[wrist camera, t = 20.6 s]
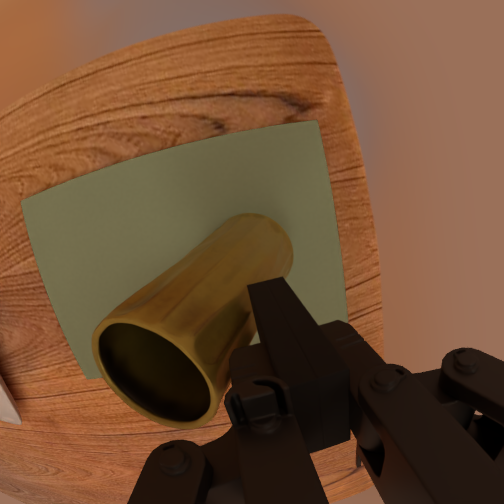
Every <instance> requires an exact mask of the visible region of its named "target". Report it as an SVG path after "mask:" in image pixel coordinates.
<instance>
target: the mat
mask: <svg viewBox="0 0 504 504" xmlns="http://www.w3.org/2000/svg"><path fill="white" fill-rule="evenodd" d="M21 206H22V210H23V215H24V219H25V223H26V227H27V231H28V235H29V238H30V242H31V246H32V249H33V252H34V256H35V259H36V262H37V265H38V268H39V271H40V274H41V277H42V280H43V283H44V286H45V289H46V291H47V294H48V297H49V299H50V302H51V304H52V307H53V309H54V312H55V314H56V317H57V319H58V321H59V324H60V326H61V328H62V330H63V333H64V335H65V337H66V339H67V341H68V343H69V346H70V348H71V350H72V352H73V354H74V356H75V358H76V360H77V362H78V364H79V366H80V367H81V369H82V371H83V373H84V375H85V377H86V379H96V378H103V377H102V375H101V373H100V371H99V369H98V367H97V365H96V362H95V360H94V356H93V352H92V334H93V332H94V330H95V329H96V327H97V326H98V325H99V324H100V322H101V321H102V320H103V319H104V318H105V317H106V316H107V315H108V314H109V313H110V312H111V311H112V310H114V309H115V308H116V307H117V306H118V305H120V304H121V303H122V302H123V301H125V300H126V299H127V298H129V297H130V296H131V295H133V294H134V293H135V292H137V291H138V290H140V289H141V288H142V287H144V286H145V285H147V284H148V283H150V282H151V281H152V280H154V279H155V278H156V277H158V276H159V275H161V274H162V273H163V272H165V271H166V270H167V269H169V268H170V267H172V266H173V265H175V264H176V263H177V262H179V261H180V260H181V259H182V258H183V257H184V256H185V255H187V254H188V253H189V252H190V251H191V250H192V249H194V248H195V247H196V246H197V245H199V244H200V243H201V242H202V241H203V240H205V239H206V238H207V237H208V236H209V235H210V234H212V233H213V232H214V231H216V230H217V229H218V228H220V227H221V225H222V224H223V223H224V222H225V221H226V220H228V219H229V218H231V217H233V216H235V215H238V214H242V213H256V214H261V215H265V216H267V217H269V218H271V219H273V220H274V221H276V222H277V223H278V224H279V225H280V226H281V227H282V228H283V229H284V230H285V231H286V233H287V234H288V236H289V238H290V241H291V243H292V247H293V253H294V258H293V265H292V268H291V271H290V273H289V275H288V276H287V278H286V279H285V280H286V282H287V283H288V284H289V286H290V287H291V289H292V290H293V291H294V293H295V294H296V295H297V297H298V298H299V299H300V301H301V302H302V303H303V305H304V306H305V308H306V309H307V310H308V312H309V313H310V314H311V316H312V317H313V319H314V320H315V321H316V323H317V324H318V325H322V324H325V323H329V322H332V321H335V320H341V321H343V322H345V323H348V314H347V303H346V292H345V283H344V274H343V265H342V257H341V249H340V242H339V234H338V228H337V221H336V214H335V208H334V202H333V196H332V190H331V185H330V179H329V174H328V168H327V163H326V158H325V153H324V148H323V143H322V139H321V134H320V130H319V125H318V121H317V120H311V121H303V122H296V123H288V124H282V125H275V126H269V127H263V128H257V129H252V130H246V131H241V132H236V133H231V134H226V135H222V136H217V137H212V138H208V139H204V140H199V141H195V142H191V143H187V144H183V145H179V146H175V147H171V148H168V149H164V150H160V151H157V152H153V153H150V154H146V155H143V156H140V157H136V158H133V159H130V160H127V161H123V162H120V163H117V164H114V165H111V166H108V167H105V168H102V169H99V170H97V171H94V172H91V173H88V174H85V175H83V176H80V177H77V178H75V179H72V180H70V181H67V182H64V183H62V184H59V185H57V186H55V187H52V188H50V189H47V190H45V191H43V192H40V193H38V194H36V195H33V196H31V197H29V198H27V199H24V200H22V201H21ZM257 343H260V340H259V335H258V331H257V332H256V334H255V336H254V338H253V340H252V341H251V343H250V345H253V344H257Z"/></svg>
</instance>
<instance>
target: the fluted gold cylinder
mask: <svg viewBox="0 0 504 504" xmlns="http://www.w3.org/2000/svg"><path fill="white" fill-rule="evenodd" d="M293 258H294V253H293V247H292V243H291V241H290V238H289V236H288V234H287V233H286V231H285V230H284V229H283V228H282V227H281V226H280V225H279V224H278V223H277V222H276V221H274V220H273V219H271V218H269V217H267V216H265V215H261V214H256V213H242V214H238V215H235V216H233V217H231V218H229V219H228V220H226V221H225V222H224V223H223V224H222V225H221V227H220V228H218V229H217V230H216V231H214V232H213V233H212V234H210V235H209V236H208V237H207V238H206V239H205V240H203V241H202V242H201V243H200V244H199V245H197V246H196V247H195V248H194V249H192V250H191V251H190V252H189V253H188V254H187V255H185V256H184V257H183V258H182V259H181V260H180V261H179V262H177V263H176V264H175V265H173V266H172V267H170V268H169V269H167V270H166V271H165V272H163V273H162V274H161V275H159V276H158V277H156V278H155V279H154V280H152V281H151V282H150V283H148V284H147V285H145V286H144V287H142V288H141V289H140V290H138V291H137V292H135V293H134V294H133V295H131V296H130V297H129V298H127V299H126V300H125V301H123V302H122V303H121V304H120V305H118V306H117V307H116V308H115V309H114V310H112V311H111V312H110V313H109V314H108V315H107V316H106V317H105V318H104V319H103V320H102V321H101V322H100V324H99V325H98V326H97V327H96V329H95V330H94V332H93V334H92V352H93V356H94V360H95V362H96V365H97V367H98V369H99V371H100V373H101V375H102V377H103V378H104V380H105V381H106V383H107V384H108V385H109V386H110V388H111V389H112V390H113V391H114V392H115V393H116V394H117V395H118V396H119V397H120V398H121V399H122V400H123V401H124V402H125V403H126V404H127V405H128V406H130V407H131V408H132V409H134V410H135V411H137V412H138V413H140V414H141V415H143V416H145V417H147V418H148V419H150V420H152V421H154V422H157V423H159V424H162V425H165V426H168V427H172V428H178V429H195V428H198V427H201V426H203V425H205V424H206V423H208V422H209V421H211V420H212V419H213V418H214V416H215V415H216V413H217V410H218V407H219V404H220V402H221V399H222V397H223V395H224V393H225V391H226V390H227V388H228V387H229V385H230V383H231V375H230V367H229V358H230V356H231V354H232V352H233V350H234V349H236V348H240V347H245V346H249V345H250V343H251V341H252V340H253V338H254V336H255V334H256V332H257V327H256V323H255V318H254V314H253V310H252V305H251V301H250V297H249V293H248V288H247V285H249V284H253V283H258V282H262V281H266V280H270V279H274V278H278V277H282V276H283V278H284V279H286V278H287V276H288V275H289V273H290V271H291V268H292V265H293Z"/></svg>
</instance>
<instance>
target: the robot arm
mask: <svg viewBox="0 0 504 504" xmlns="http://www.w3.org/2000/svg"><path fill="white" fill-rule="evenodd" d="M247 288H248V293H249V297H250V301H251V305H252V310H253V314H254V318H255V323H256V327H257V331H258V335H259V340H260V343H257V344H253V345H249V346H245V347H240V348H236V349H234V350H233V352H232V354H231V356H230V358H229V367H230V375H231V383H232V387H231V388H230V389H229V391H228V392H227V393H226V395H225V400H224V405H225V407H226V410H227V413H228V415H229V418H230V420H231V423H232V427H231V428H230V429H229V431H228V432H226V433H225V434H224V435H223V436H221V437H220V438H218V439H216V440H214V441H212V442H209V443H207V444H205V445H202V446H198V445H197V444H195V443H194V442H191V441H187V440H173V441H169V442H167V443H164V444H161V445H160V446H158V447H157V448H156V449H154V450H153V451H152V452H151V454H150V455H149V457H148V458H147V460H146V462H145V465H144V467H143V469H142V471H141V474H140V476H139V478H138V480H137V483H136V485H135V487H134V489H133V492H132V494H131V496H130V499H129V501H128V503H127V504H329V502H328V500H327V497H326V495H325V492H324V490H323V487H322V485H321V482H320V479H319V477H318V474H317V472H316V469H315V467H314V464H313V462H312V459H311V456H310V453H313V452H316V451H319V450H323V449H326V448H329V447H332V446H334V445H337V444H340V443H343V442H346V441H348V440H350V429H351V431H352V432H353V434H354V436H355V438H356V439H357V447H356V466H357V468H358V467H360V466H361V461H362V462H363V464H364V466H365V468H366V470H367V472H368V474H369V475H370V477H371V479H372V481H373V483H374V485H375V487H376V489H377V490H378V492H379V494H380V496H381V498H382V500H383V502H384V503H385V504H504V361H502V360H499V359H497V358H495V357H493V356H490V355H488V354H486V353H484V352H482V351H479V350H476V349H473V348H459V349H455V350H452V351H451V352H449V353H447V354H446V356H445V357H444V358H443V360H442V366H441V368H440V369H435V370H431V371H426V372H422V373H414V374H412V373H411V372H410V371H409V370H407V369H406V368H404V367H403V366H399V365H396V364H386V363H385V362H384V360H383V359H382V358H381V357H380V356H379V355H378V354H377V353H376V352H375V351H374V350H373V348H372V347H371V346H370V345H369V344H368V343H367V342H366V341H364V339H363V338H362V337H361V335H360V334H358V332H357V331H356V330H355V329H354V328H353V327H352V326H351V325H350V324H348V323H345V322H343V321H341V320H335V321H332V322H329V323H325V324H322V325H318V324H317V323H316V321H315V320H314V319H313V317H312V316H311V314H310V313H309V312H308V310H307V309H306V308H305V306H304V305H303V303H302V302H301V301H300V299H299V298H298V297H297V295H296V294H295V293H294V291H293V290H292V289H291V287H290V286H289V284H288V283H287V282H286V280H285V279H284V278H283V276H282V277H278V278H274V279H270V280H266V281H262V282H258V283H253V284H249V285H247ZM476 410H477V411H478V412H480V413H482V414H483V415H475V414H474V413H475V411H476Z"/></svg>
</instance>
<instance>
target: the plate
mask: <svg viewBox="0 0 504 504" xmlns="http://www.w3.org/2000/svg"><path fill="white" fill-rule="evenodd" d="M0 420H2V421H5V422H9V423H13V424H17V425H21V424H22V419H21V415H20V412H19V409H18V407H17V405H16V403H15V401H14V399H13V397H12V395H11V393H10V392H9V390H8V388H7V386H6V384H5V382H4V380H3V379H2V377H1V375H0Z"/></svg>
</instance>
